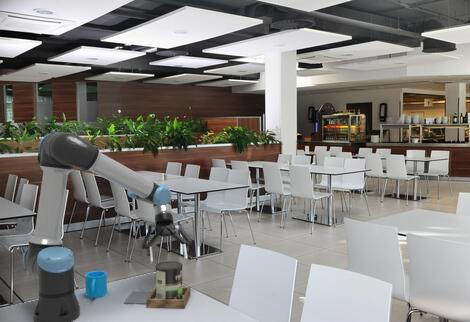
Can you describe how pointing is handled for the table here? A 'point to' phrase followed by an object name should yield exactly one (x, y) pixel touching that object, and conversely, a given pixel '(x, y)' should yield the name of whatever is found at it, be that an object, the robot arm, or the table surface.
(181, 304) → the crate
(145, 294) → the mat
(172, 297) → the coffee can
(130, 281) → the table surface
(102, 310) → the table surface
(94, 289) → the mug
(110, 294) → the table surface
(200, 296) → the table surface
